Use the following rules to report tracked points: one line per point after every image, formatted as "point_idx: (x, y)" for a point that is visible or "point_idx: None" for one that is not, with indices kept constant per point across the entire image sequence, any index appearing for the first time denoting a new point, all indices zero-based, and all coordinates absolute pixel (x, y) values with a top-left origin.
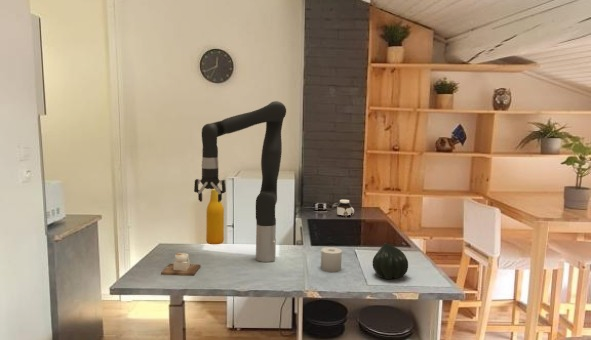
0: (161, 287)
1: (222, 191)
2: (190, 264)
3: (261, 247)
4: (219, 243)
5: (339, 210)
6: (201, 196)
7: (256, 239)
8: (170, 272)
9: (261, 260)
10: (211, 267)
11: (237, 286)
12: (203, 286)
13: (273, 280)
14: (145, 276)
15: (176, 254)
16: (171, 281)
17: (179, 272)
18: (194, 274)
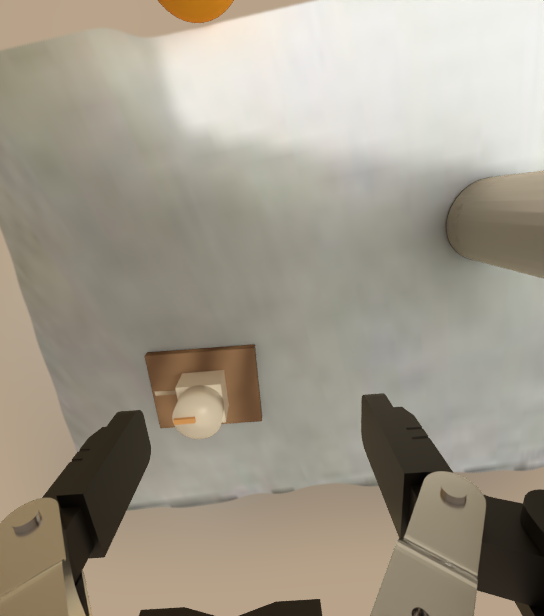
0: (209, 493)
1: (521, 605)
2: (219, 352)
3: (510, 269)
4: (231, 3)
5: None
6: (120, 497)
7: (508, 248)
8: None
9: (472, 259)
10: (293, 343)
11: None
12: (313, 474)
13: (504, 411)
14: None
15: (177, 423)
16: (216, 459)
17: None
18: (261, 412)
